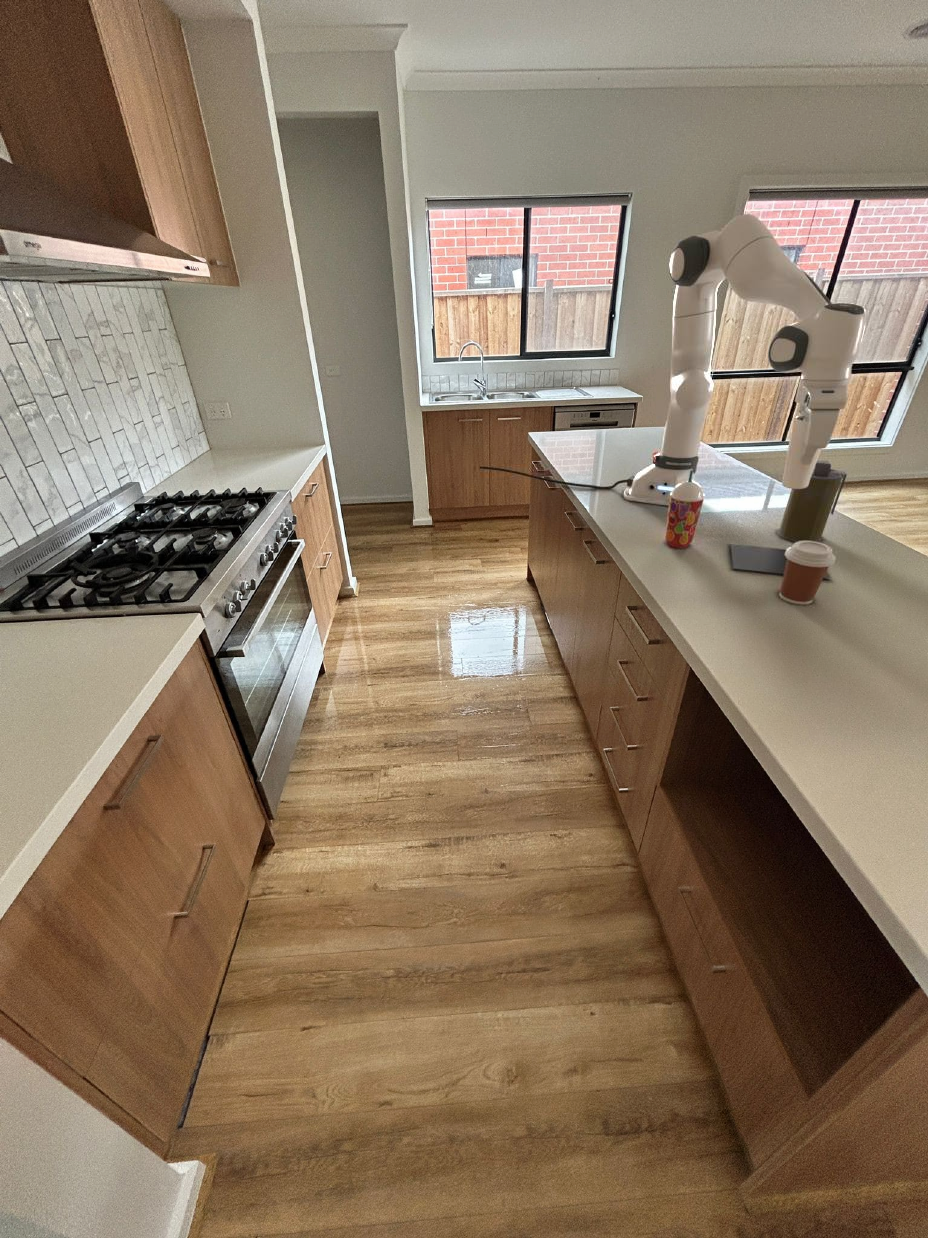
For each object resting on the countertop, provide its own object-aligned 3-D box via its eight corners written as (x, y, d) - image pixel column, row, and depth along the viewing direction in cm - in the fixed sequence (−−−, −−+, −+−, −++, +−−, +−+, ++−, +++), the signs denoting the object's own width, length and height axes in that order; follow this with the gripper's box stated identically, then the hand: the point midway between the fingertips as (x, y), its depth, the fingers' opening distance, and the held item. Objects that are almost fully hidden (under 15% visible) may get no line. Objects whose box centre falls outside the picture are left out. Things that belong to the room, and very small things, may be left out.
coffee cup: (764, 587, 117) (779, 538, 110) (805, 586, 116) (823, 537, 110) (784, 608, 109) (801, 556, 103) (828, 607, 108) (848, 555, 102)
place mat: (733, 569, 125) (733, 568, 124) (729, 545, 136) (730, 544, 136) (828, 580, 118) (828, 578, 118) (816, 553, 130) (816, 552, 130)
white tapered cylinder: (771, 483, 121) (788, 416, 113) (799, 480, 121) (817, 413, 113) (789, 492, 115) (807, 422, 107) (818, 489, 116) (839, 419, 108)
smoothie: (693, 539, 141) (708, 466, 130) (694, 551, 134) (710, 476, 124) (661, 536, 143) (674, 465, 133) (661, 548, 137) (674, 474, 126)
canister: (780, 541, 137) (803, 466, 127) (775, 527, 145) (796, 455, 135) (827, 545, 134) (854, 468, 123) (819, 530, 142) (844, 457, 131)
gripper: (796, 385, 117) (780, 447, 124) (811, 401, 101) (793, 471, 108) (828, 384, 115) (811, 447, 122) (849, 401, 99) (827, 472, 106)
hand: (802, 459), depth 115 cm, fingers closed on white tapered cylinder, 6 cm apart
